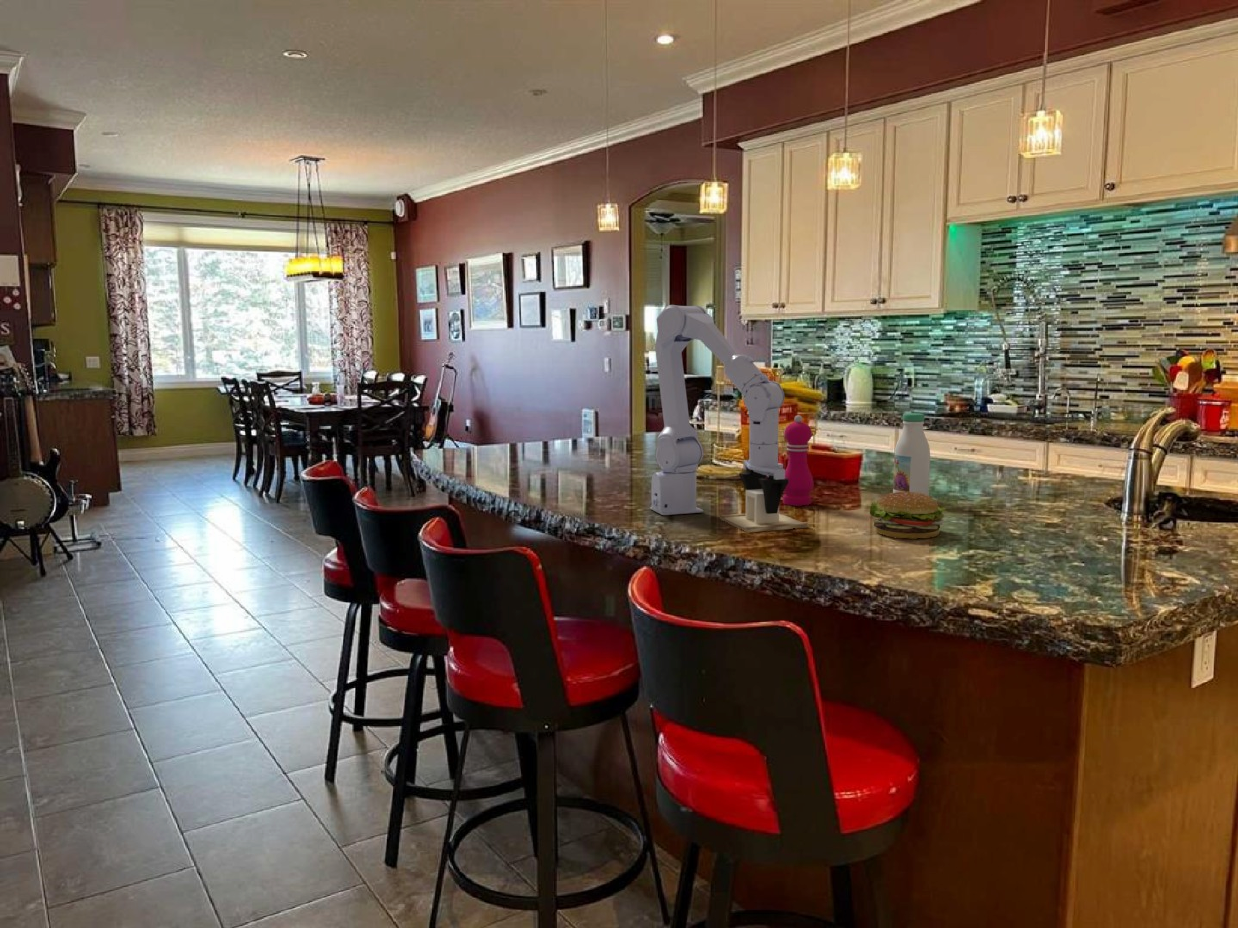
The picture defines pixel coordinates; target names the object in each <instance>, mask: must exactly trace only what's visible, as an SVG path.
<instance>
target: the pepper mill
mask: <svg viewBox="0 0 1238 928" xmlns="http://www.w3.org/2000/svg"><path fill="white" fill-rule="evenodd" d="M793 420H794V422H791V423H789V424H787V426H786V427H785V430H784V438H785V440H786V441H787V442H788V443H786V451H788V452H787V453H788V463H787V466H786V469H785V478H786V479H789V483H788V485H787V486H786V488H785V490H784V494H782V503H783V504H784V505H786V506H792V505H793V506H794V507H801V506H802V505H805V506H809V504H810V505H811V504H812V495H810V494H809V493H811V492H812V490H813V489H814V478H813V476H812V473H811V471H810V469H809V466H808V459H807V457H808V452H809V451H810V448H809V447H810V444H809V441H810V440H811V438H812V437H813V433H812V428H811V426H810V425H808V424H807V423H805V422H803V417H802V416H801V415H795V416H794V419H793ZM802 507H803V506H802Z"/></svg>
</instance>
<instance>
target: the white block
mask: <svg viewBox="0 0 1238 928" xmlns="http://www.w3.org/2000/svg"><path fill="white" fill-rule="evenodd" d="M779 513H780V507H779V508H778V511H777V513H773V514H767V513H766V510H765V500H764V493H763V489H755V490H745V513H744V514H745V519H746V520H753V519H754V523H755V524H761V523H773V522H779Z"/></svg>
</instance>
